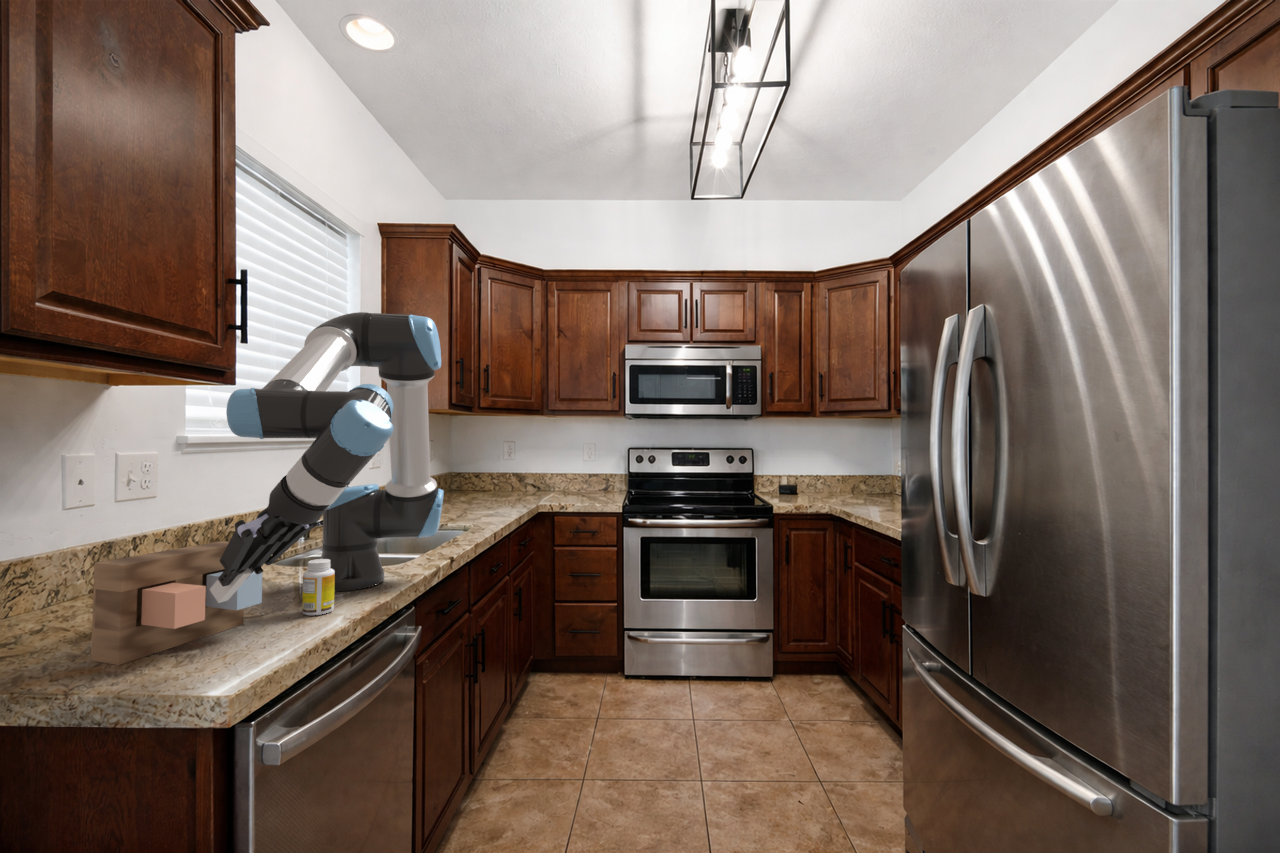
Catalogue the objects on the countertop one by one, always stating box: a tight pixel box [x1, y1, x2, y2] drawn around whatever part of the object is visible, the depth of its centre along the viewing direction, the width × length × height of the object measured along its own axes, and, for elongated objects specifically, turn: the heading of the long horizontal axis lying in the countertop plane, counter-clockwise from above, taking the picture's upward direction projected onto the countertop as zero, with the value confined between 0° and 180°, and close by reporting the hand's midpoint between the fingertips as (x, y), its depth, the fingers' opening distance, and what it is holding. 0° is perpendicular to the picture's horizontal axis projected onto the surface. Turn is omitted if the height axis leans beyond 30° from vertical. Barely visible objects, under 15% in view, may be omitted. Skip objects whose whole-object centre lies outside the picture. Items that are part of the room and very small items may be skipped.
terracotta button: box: [141, 583, 206, 629], centre depth 90 cm, size 5×7×5 cm, turn 74°
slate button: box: [206, 571, 264, 610], centre depth 99 cm, size 5×7×5 cm, turn 74°
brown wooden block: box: [90, 540, 245, 666], centre depth 96 cm, size 20×6×15 cm, turn 164°
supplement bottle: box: [301, 558, 335, 617], centre depth 113 cm, size 6×6×10 cm
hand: (218, 594), depth 87 cm, fingers closed
